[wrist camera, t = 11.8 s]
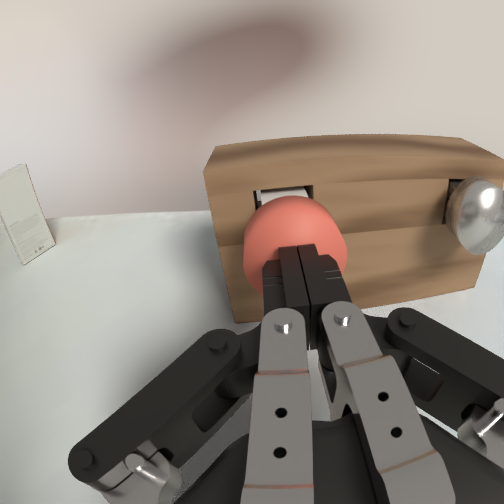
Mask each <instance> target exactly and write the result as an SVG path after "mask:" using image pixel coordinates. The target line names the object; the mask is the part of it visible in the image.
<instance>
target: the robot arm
mask: <svg viewBox="0 0 504 504" xmlns="http://www.w3.org/2000/svg"><path fill="white" fill-rule="evenodd" d="M278 252H279V259H278V260H269V261H266V263H265V264H264V266H263V268H262V281H263V301H264V317H263V320H262V322H261V323H260V324H259V325H258V326H257V327H256V328H255V329H253V330H251V331H249V332H246V333H243V334H241V335H238V336H237V334H235V333H234V332H233V331H230V330H227V329H216V330H212V331H209V332H207V333H206V334H204V335H203V336H202V337H201V338H200V339H198V340H197V341H196V342H195V343H194V344H193V345H192V346H191V347H189V348H188V349H187V350H186V351H185V352H184V353H183V354H182V355H180V356H179V357H178V358H177V359H176V360H175V361H174V362H173V363H171V364H170V365H169V366H168V367H167V368H166V369H165V370H163V371H162V372H161V373H160V374H159V375H158V376H157V377H155V378H154V379H153V380H152V381H151V382H150V383H148V384H147V385H146V386H145V387H144V388H143V389H142V390H140V391H139V392H138V393H137V394H136V395H135V396H133V397H132V398H131V399H130V400H129V401H128V402H126V403H125V404H124V405H123V406H122V407H120V408H119V409H118V410H117V411H116V412H115V413H113V414H112V415H111V416H110V417H109V418H107V419H106V420H105V421H104V422H103V423H101V424H100V425H99V426H98V427H97V428H95V429H94V430H93V431H92V432H90V433H89V434H88V435H87V436H86V437H84V438H83V439H82V440H81V441H79V442H78V443H77V444H76V445H75V446H74V447H73V448H72V449H71V451H70V453H69V457H68V466H69V469H70V472H71V473H72V475H73V476H74V477H75V478H76V479H78V480H79V481H81V482H83V483H85V484H87V485H89V486H91V487H92V488H94V489H96V490H98V491H99V492H101V494H102V495H103V496H104V497H105V498H106V500H107V501H108V502H109V503H110V504H172V500H173V497H174V495H175V494H176V493H177V491H178V490H179V489H180V487H181V484H182V476H181V473H180V471H179V468H180V467H181V466H182V465H183V464H184V463H185V462H186V461H187V460H188V459H190V458H191V457H192V456H193V455H194V454H195V453H196V452H197V451H198V450H199V449H200V448H201V447H202V446H203V445H204V444H205V443H206V442H207V441H208V440H209V439H210V438H211V437H212V436H213V435H214V434H215V433H216V432H217V431H218V430H219V429H220V428H221V427H222V426H223V425H224V423H225V422H226V421H227V420H228V419H229V418H230V417H231V416H232V415H233V414H234V413H235V412H236V411H237V410H238V409H239V407H240V406H241V405H242V404H243V403H244V402H245V401H246V400H247V399H248V397H249V396H250V394H251V393H253V398H252V410H251V421H250V433H249V434H246V435H245V436H243V437H241V438H239V439H238V440H236V441H235V442H233V443H232V444H231V445H230V446H228V447H227V448H226V449H225V450H224V451H223V453H222V454H221V455H220V456H219V457H218V458H217V459H216V460H215V461H214V462H213V464H212V465H211V466H210V467H209V468H208V469H207V470H206V471H205V472H204V473H203V474H202V475H201V476H200V477H199V478H198V479H197V480H196V481H195V482H194V484H193V485H192V486H191V487H190V488H189V489H188V490H187V491H186V492H185V493H184V494H183V495H182V496H181V497H179V498H178V499H177V500H176V501H175V502H174V503H173V504H504V359H502V358H501V357H499V356H497V355H495V354H494V353H492V352H490V351H488V350H487V349H485V348H483V347H481V346H480V345H478V344H476V343H474V342H473V341H471V340H469V339H467V338H465V337H464V336H462V335H460V334H458V333H457V332H455V331H453V330H451V329H449V328H448V327H446V326H444V325H442V324H440V323H438V322H437V321H435V320H433V319H431V318H429V317H427V316H426V315H424V314H422V313H420V312H418V311H416V310H414V309H411V308H405V307H403V308H397V309H395V310H393V311H392V312H391V313H390V314H389V316H388V318H383V317H374V316H369V315H366V314H363V313H362V311H361V309H360V308H359V307H358V306H356V305H355V304H353V303H352V300H351V297H350V295H349V292H348V289H347V287H346V284H345V282H344V279H343V278H342V274H341V271H340V269H339V266H338V264H337V261H336V260H335V259H334V258H332V257H331V256H330V255H329V254H325V255H319V254H318V251H317V248H316V246H315V244H304V245H297V248H296V245H295V246H285V247H278ZM309 344H310V350H314V349H317V350H318V355H319V361H318V367H319V371H320V375H321V378H322V382H323V386H324V389H325V393H326V397H327V400H328V404H329V409H330V422H327V421H314V420H312V416H311V393H310V376H309V371H308V361H307V350H309ZM414 358H415V359H416V360H415V359H414ZM417 360H418V361H420V362H421V363H420V362H418V361H417ZM422 363H423V364H425V365H426V366H425V365H423V364H422ZM427 366H428V367H430V368H431V369H430V368H428V367H427ZM432 369H433V370H435V371H436V372H435V371H433V370H432ZM437 372H438V373H439V374H438V373H437ZM440 374H441V375H440ZM415 405H416V406H417V407H419V408H420V409H422V410H423V411H425V412H426V413H428V414H430V415H431V416H433V417H434V418H436V419H437V420H439V421H441V422H442V423H444V424H445V425H447V426H449V427H450V428H452V429H453V430H455V431H457V436H458V439H457V438H456V437H454V436H453V435H452V434H450V433H449V432H447V431H446V430H444V429H443V428H441V427H440V426H438V425H437V424H435V423H434V422H433V421H431V420H430V419H428V418H427V417H425V416H423V415H421V414H419V413H418V411H417V408H416V406H415Z"/></svg>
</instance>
